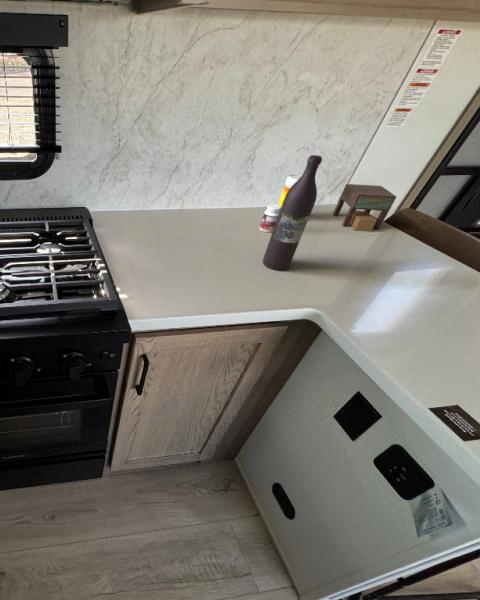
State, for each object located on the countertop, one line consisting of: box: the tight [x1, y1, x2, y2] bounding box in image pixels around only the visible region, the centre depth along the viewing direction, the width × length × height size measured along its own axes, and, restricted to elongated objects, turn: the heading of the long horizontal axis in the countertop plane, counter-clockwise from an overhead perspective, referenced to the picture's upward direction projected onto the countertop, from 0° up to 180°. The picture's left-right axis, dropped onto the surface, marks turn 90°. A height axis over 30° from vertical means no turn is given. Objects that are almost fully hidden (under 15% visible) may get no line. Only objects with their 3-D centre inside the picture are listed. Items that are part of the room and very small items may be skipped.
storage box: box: [349, 210, 377, 233], centre depth 120 cm, size 8×5×4 cm, turn 167°
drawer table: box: [332, 183, 397, 230], centre depth 121 cm, size 12×11×12 cm
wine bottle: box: [262, 154, 323, 271], centre depth 91 cm, size 7×7×30 cm
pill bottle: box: [259, 203, 281, 233], centre depth 117 cm, size 5×5×8 cm
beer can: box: [277, 174, 303, 207], centre depth 123 cm, size 6×6×15 cm
